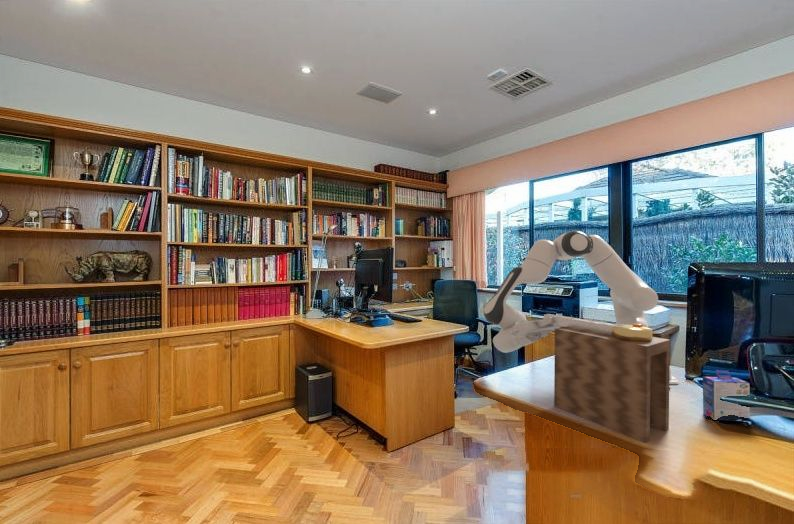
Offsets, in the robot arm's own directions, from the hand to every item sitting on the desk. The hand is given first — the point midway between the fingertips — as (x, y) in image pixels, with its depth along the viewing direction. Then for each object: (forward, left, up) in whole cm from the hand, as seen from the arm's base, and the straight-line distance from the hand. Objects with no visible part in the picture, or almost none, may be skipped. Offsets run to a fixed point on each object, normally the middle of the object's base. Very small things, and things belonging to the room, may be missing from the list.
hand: (555, 318), depth 124 cm
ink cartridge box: (-48, +6, -28) cm, 56 cm away
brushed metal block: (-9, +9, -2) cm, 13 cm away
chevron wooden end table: (-13, +13, -28) cm, 33 cm away
